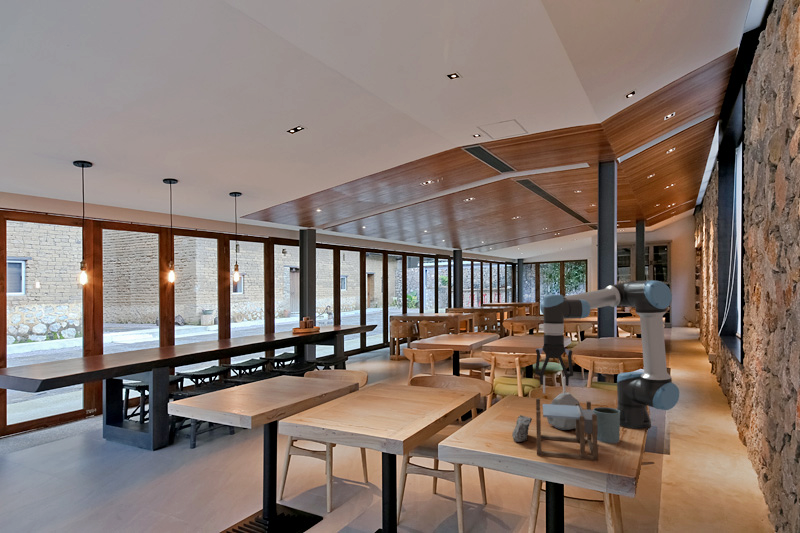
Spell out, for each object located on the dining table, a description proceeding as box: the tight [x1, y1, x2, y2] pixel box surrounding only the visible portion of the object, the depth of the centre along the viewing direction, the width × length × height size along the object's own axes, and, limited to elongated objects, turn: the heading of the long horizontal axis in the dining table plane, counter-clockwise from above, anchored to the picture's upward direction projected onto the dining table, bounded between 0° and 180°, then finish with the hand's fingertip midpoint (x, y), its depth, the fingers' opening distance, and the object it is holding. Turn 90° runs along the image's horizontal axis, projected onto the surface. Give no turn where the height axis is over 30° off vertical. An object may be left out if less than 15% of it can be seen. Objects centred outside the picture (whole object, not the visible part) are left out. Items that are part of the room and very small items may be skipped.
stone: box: [546, 392, 583, 431], centre depth 210 cm, size 12×12×15 cm
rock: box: [511, 414, 533, 443], centre depth 195 cm, size 16×8×10 cm, turn 151°
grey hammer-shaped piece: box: [542, 403, 598, 435], centre depth 183 cm, size 19×17×6 cm
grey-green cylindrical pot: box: [592, 406, 621, 444], centre depth 193 cm, size 10×10×12 cm
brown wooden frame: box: [535, 397, 599, 461], centre depth 184 cm, size 21×21×16 cm
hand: (554, 393), depth 185 cm, fingers open, 7 cm apart
